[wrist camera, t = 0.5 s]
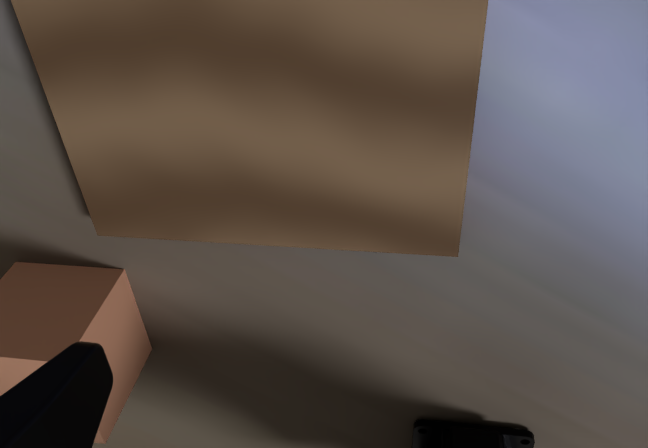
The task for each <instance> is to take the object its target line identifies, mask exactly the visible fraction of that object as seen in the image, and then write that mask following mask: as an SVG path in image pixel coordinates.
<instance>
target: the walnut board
mask: <svg viewBox="0 0 648 448" xmlns="http://www.w3.org/2000/svg"><path fill="white" fill-rule="evenodd" d="M11 2H12V5H13V7H14V10H15V13H16V16H17V18H18V21H19V24H20V26H21V29H22V32H23V34H24V37H25V40H26V43H27V45H28V48H29V51H30V53H31V56H32V59H33V62H34V64H35V67H36V70H37V72H38V75H39V78H40V81H41V83H42V86H43V89H44V91H45V94H46V97H47V100H48V102H49V105H50V108H51V110H52V113H53V116H54V119H55V121H56V124H57V127H58V129H59V132H60V135H61V138H62V140H63V143H64V146H65V148H66V151H67V154H68V157H69V159H70V162H71V165H72V167H73V170H74V173H75V175H76V178H77V181H78V184H79V186H80V189H81V192H82V194H83V197H84V200H85V203H86V205H87V208H88V211H89V213H90V216H91V219H92V222H93V224H94V227H95V230H96V232H97V235H98V236H115V237H132V238H149V239H166V240H183V241H200V242H216V243H233V244H250V245H267V246H284V247H301V248H317V249H334V250H351V251H368V252H385V253H402V254H419V255H435V256H452V257H458V252H459V243H460V235H461V226H462V218H463V209H464V201H465V193H466V184H467V176H468V167H469V159H470V150H471V142H472V133H473V125H474V117H475V108H476V100H477V91H478V83H479V74H480V66H481V57H482V49H483V41H484V32H485V24H486V15H487V7H488V0H11Z"/></svg>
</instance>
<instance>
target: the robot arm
mask: <svg viewBox="0 0 648 448" xmlns="http://www.w3.org/2000/svg"><path fill="white" fill-rule="evenodd" d="M112 386H113V373H112V370H111V367H110V365H109V362H108V359H107V357H106V354H105V351H104V349H103V347H102V346H101V345H100V344H98V343H92V342H83V341H79V342H75V343H73V344H71V345H70V346H68V347H67V348H66V349H64V350H63V351H62V352H60V353H59V354H57V355H56V356H55V357H53V358H52V359H51V360H49V361H48V362H46V363H45V364H44V365H42V366H41V367H40V368H38V369H37V370H35V371H34V372H33V373H31V374H30V375H29V376H27V377H26V378H24V379H23V380H22V381H20V382H19V383H18V384H16V385H15V386H14V387H12V388H11V389H9V390H8V391H7V392H5V393H4V394H3V395H1V396H0V448H92V446H93V443H94V440H95V437H96V434H97V431H98V428H99V425H100V422H101V419H102V416H103V413H104V411H105V408H106V405H107V402H108V399H109V396H110V393H111V390H112ZM534 443H535V442H534V435H533V433H532V432H530V431H527V430H519V429H509V428H499V427H489V426H479V425H469V424H460V423H450V422H440V421H430V420H417V421H416V422H415V423H414V429H413V442H412V448H533V447H534Z"/></svg>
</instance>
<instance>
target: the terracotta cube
mask: <svg viewBox="0 0 648 448" xmlns="http://www.w3.org/2000/svg"><path fill="white" fill-rule="evenodd" d="M79 341H83V342H92V343H98V344H100V345H101V346H102V347H103V349H104V351H105V354H106V357H107V359H108V362H109V365H110V367H111V370H112V373H113V386H112V390H111V393H110V396H109V399H108V402H107V405H106V408H105V411H104V413H103V416H102V419H101V422H100V425H99V428H98V431H97V434H96V437H95V440H94V443H103V444H106V441H107V439H108V437H109V435H110V433H111V431H112V429H113V427H114V425H115V423H116V421H117V419H118V417H119V415H120V413H121V411H122V409H123V407H124V405H125V403H126V401H127V399H128V397H129V395H130V393H131V391H132V389H133V387H134V385H135V383H136V381H137V379H138V377H139V375H140V373H141V371H142V369H143V367H144V364H145V362H146V360H147V358H148V356H149V354H150V352H151V350H152V347H151V344H150V341H149V338H148V335H147V332H146V329H145V327H144V324H143V321H142V318H141V315H140V312H139V309H138V307H137V304H136V301H135V298H134V295H133V292H132V289H131V287H130V284H129V281H128V278H127V275H126V272H125V269H113V268H99V267H84V266H69V265H54V264H40V263H25V262H15V263H14V264H13V265H12V267H11V268H10V269H9V270H8V271H7V272H6V273H5V275H4V276H3V277H2V278H1V279H0V396H1V395H3V394H4V393H5V392H7V391H8V390H9V389H11V388H12V387H14V386H15V385H16V384H18V383H19V382H20V381H22V380H23V379H24V378H26V377H27V376H29V375H30V374H31V373H33V372H34V371H35V370H37V369H38V368H40V367H41V366H42V365H44V364H45V363H46V362H48V361H49V360H51V359H52V358H53V357H55V356H56V355H57V354H59V353H60V352H62V351H63V350H64V349H66V348H67V347H68V346H70V345H71V344H73V343H75V342H79Z"/></svg>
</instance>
